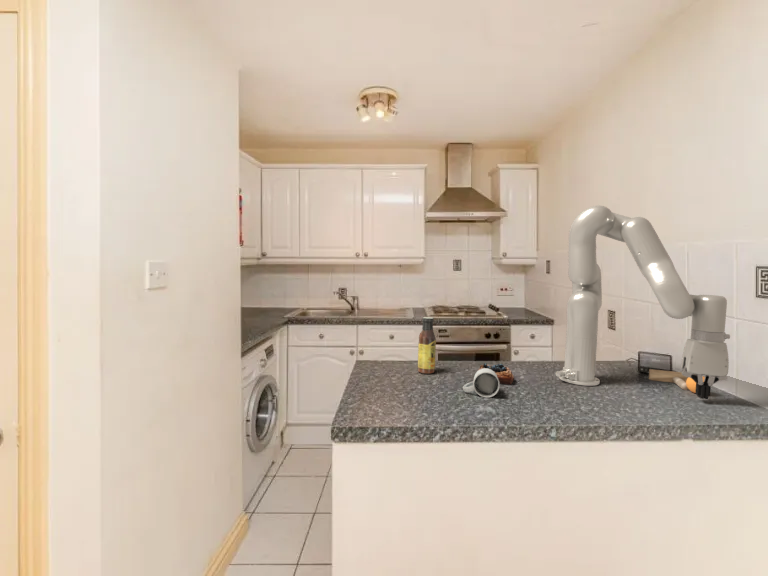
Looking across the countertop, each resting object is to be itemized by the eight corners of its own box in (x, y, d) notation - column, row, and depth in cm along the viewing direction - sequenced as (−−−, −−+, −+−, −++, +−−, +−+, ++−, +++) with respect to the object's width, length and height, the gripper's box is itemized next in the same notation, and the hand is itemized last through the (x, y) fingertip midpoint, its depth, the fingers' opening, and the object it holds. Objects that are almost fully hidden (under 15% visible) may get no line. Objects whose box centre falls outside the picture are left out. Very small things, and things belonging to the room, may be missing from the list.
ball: (692, 385, 126) (690, 398, 123) (683, 371, 125) (681, 384, 122) (714, 383, 122) (713, 397, 118) (705, 369, 121) (704, 383, 117)
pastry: (477, 374, 137) (478, 358, 137) (512, 377, 135) (512, 361, 134) (477, 383, 127) (478, 365, 126) (514, 387, 124) (515, 369, 124)
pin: (688, 382, 125) (678, 375, 133) (679, 384, 125) (671, 377, 133) (691, 389, 124) (681, 382, 132) (683, 391, 125) (674, 384, 133)
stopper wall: (698, 385, 131) (698, 375, 131) (650, 380, 135) (651, 370, 135) (695, 383, 133) (696, 373, 133) (648, 378, 137) (649, 369, 137)
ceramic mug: (497, 390, 119) (497, 366, 119) (499, 399, 111) (500, 373, 111) (462, 387, 121) (463, 364, 121) (462, 396, 113) (463, 370, 113)
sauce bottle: (434, 375, 134) (436, 319, 132) (416, 373, 135) (418, 318, 134) (435, 370, 140) (437, 317, 139) (418, 369, 141) (420, 316, 140)
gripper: (731, 336, 113) (726, 397, 114) (672, 332, 118) (667, 390, 119) (746, 341, 106) (740, 405, 107) (682, 336, 111) (677, 398, 112)
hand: (702, 397), depth 113 cm, fingers closed
